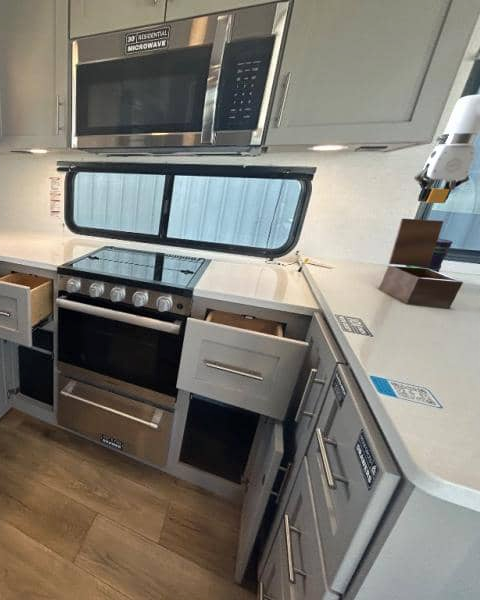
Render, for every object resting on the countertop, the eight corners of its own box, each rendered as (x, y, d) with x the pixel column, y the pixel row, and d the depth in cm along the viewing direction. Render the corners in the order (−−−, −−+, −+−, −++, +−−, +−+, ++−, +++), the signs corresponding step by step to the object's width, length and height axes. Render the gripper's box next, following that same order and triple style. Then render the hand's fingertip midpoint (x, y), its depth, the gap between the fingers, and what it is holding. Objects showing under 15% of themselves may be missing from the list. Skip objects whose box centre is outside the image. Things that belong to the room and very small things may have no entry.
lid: (443, 220, 108) (441, 221, 109) (403, 218, 110) (401, 218, 111) (429, 267, 112) (427, 267, 112) (389, 263, 114) (388, 263, 115)
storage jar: (404, 275, 134) (420, 239, 128) (401, 270, 141) (416, 235, 136) (438, 281, 129) (456, 243, 123) (433, 275, 136) (450, 239, 130)
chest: (449, 308, 103) (463, 282, 99) (406, 304, 105) (418, 278, 101) (416, 292, 116) (427, 268, 112) (378, 288, 118) (388, 265, 114)
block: (433, 202, 111) (439, 188, 110) (443, 203, 107) (449, 189, 106) (418, 201, 112) (424, 187, 110) (427, 202, 108) (433, 188, 107)
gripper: (433, 139, 101) (408, 201, 108) (501, 141, 97) (471, 204, 105) (417, 141, 108) (394, 199, 115) (479, 142, 104) (452, 202, 111)
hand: (431, 201), depth 110 cm, fingers closed on block, 4 cm apart
